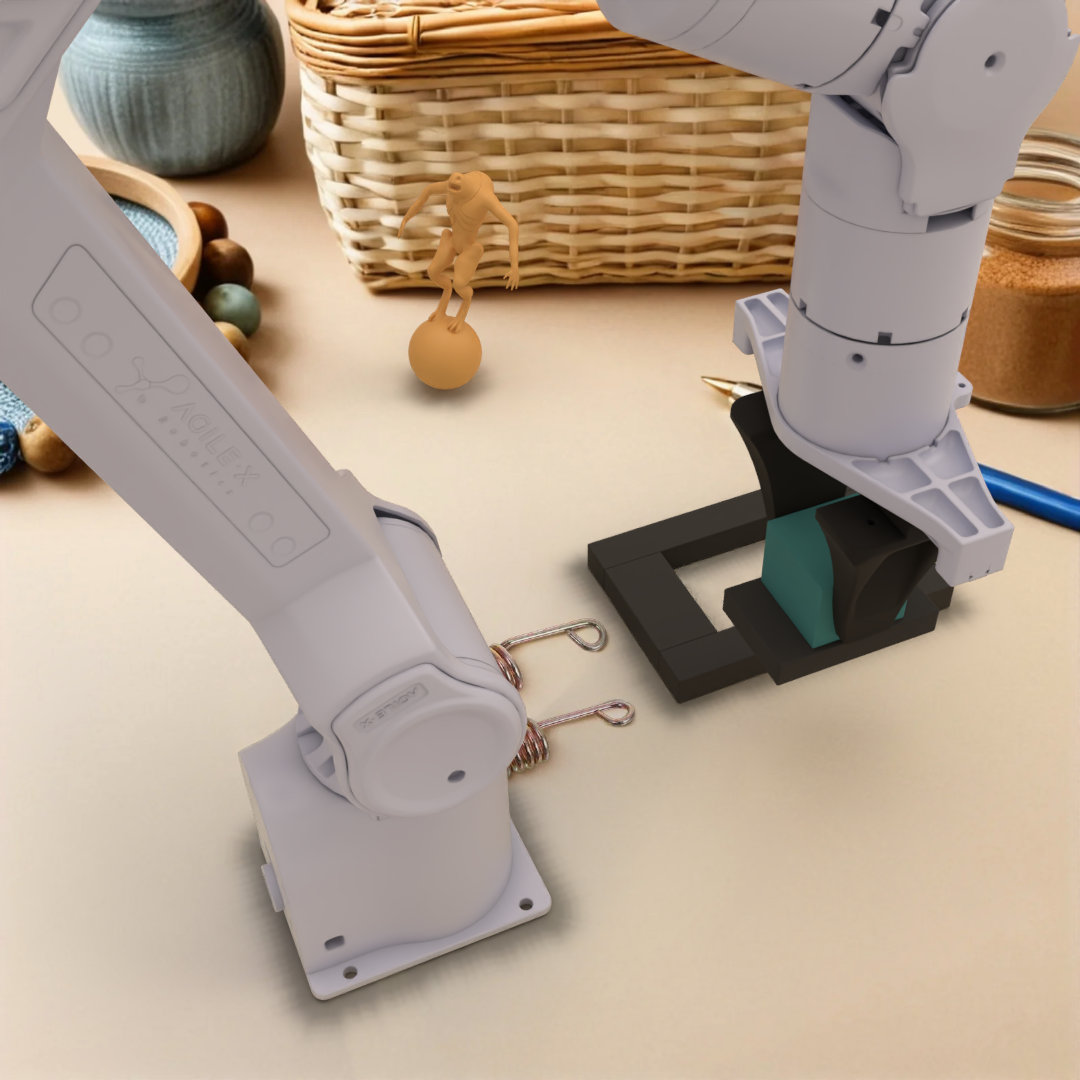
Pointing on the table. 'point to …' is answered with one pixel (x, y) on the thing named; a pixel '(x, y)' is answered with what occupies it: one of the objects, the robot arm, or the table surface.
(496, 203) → the figurine
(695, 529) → the dark rectangular frame
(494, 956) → the table surface
